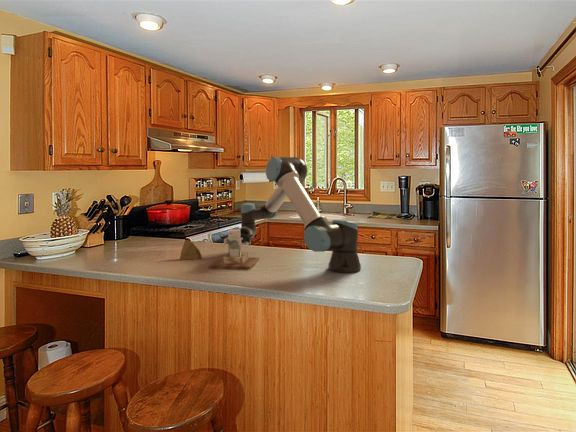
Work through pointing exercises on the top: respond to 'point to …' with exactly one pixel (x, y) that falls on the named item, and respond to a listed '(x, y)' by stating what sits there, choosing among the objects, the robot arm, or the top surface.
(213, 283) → the top surface
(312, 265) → the top surface
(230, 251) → the syrup box
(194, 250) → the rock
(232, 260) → the socket board
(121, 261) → the top surface
